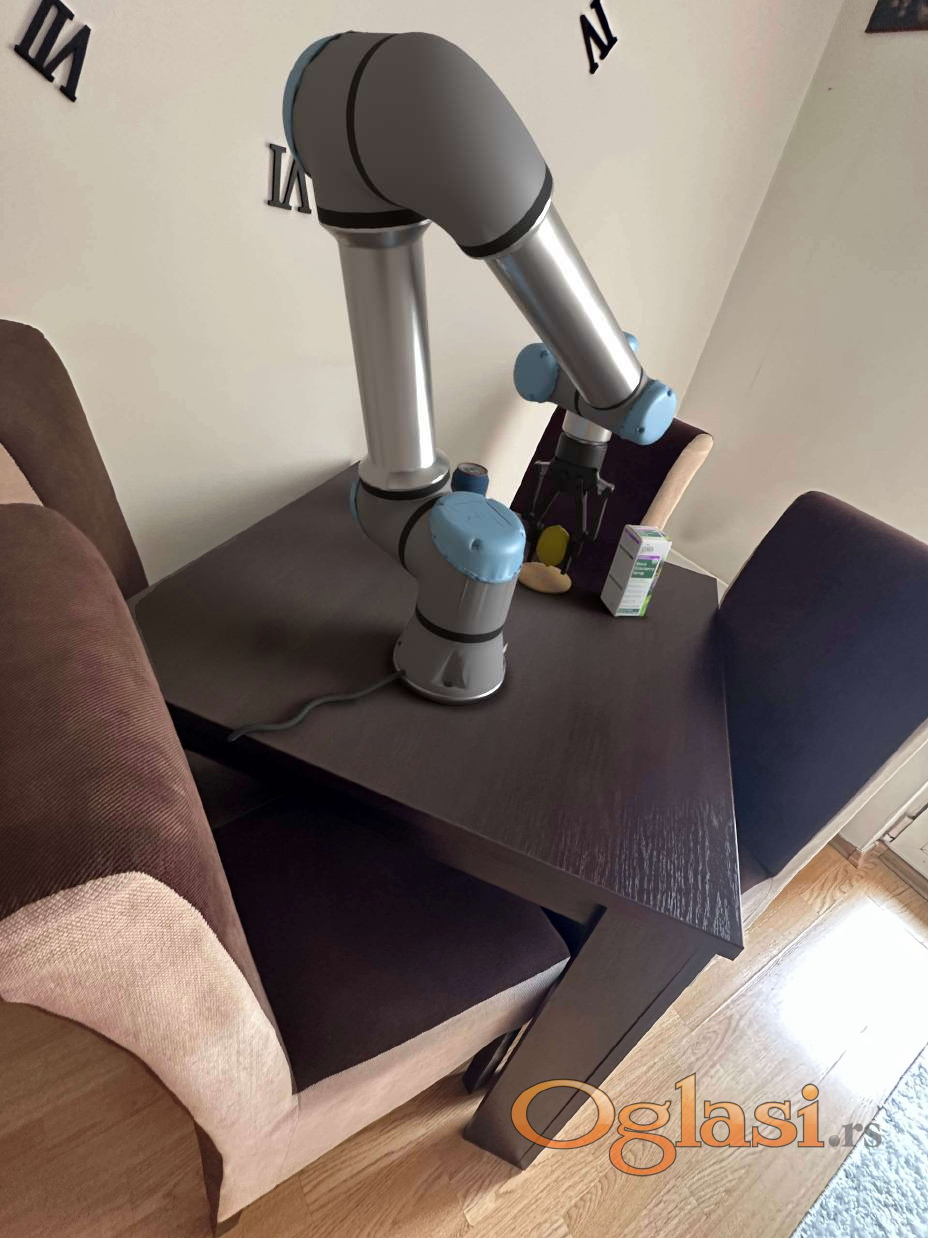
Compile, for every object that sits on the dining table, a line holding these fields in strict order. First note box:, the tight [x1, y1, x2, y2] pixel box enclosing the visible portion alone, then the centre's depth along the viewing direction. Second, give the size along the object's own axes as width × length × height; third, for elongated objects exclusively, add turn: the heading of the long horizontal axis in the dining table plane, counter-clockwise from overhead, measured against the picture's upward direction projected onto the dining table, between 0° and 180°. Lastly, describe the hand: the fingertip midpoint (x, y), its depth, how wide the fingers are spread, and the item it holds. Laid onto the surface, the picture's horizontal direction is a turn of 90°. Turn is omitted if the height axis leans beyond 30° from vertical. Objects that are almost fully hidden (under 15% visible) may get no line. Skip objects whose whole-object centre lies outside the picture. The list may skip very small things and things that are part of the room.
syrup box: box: [600, 524, 673, 617], centre depth 107 cm, size 6×6×14 cm
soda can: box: [450, 461, 490, 498], centre depth 122 cm, size 7×7×12 cm
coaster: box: [517, 561, 572, 595], centre depth 115 cm, size 10×10×1 cm
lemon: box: [536, 524, 571, 567], centre depth 111 cm, size 6×6×8 cm
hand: (547, 565), depth 113 cm, fingers closed on lemon, 6 cm apart
